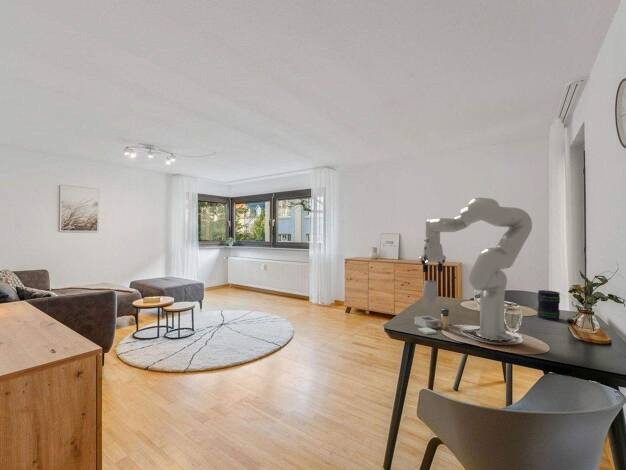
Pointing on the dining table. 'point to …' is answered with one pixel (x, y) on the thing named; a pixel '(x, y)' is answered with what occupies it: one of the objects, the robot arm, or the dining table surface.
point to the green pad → (427, 330)
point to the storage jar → (548, 305)
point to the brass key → (445, 319)
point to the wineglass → (430, 292)
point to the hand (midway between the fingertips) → (432, 271)
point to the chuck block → (427, 321)
